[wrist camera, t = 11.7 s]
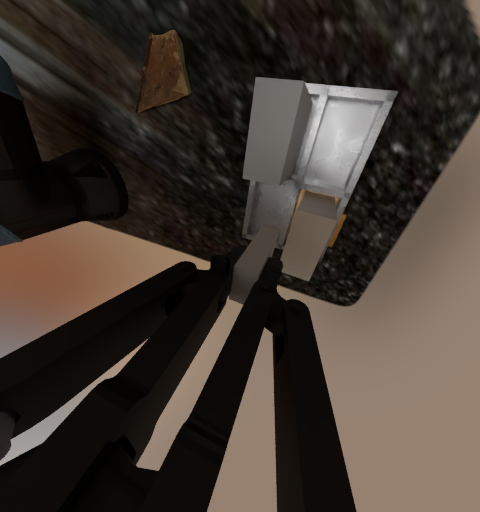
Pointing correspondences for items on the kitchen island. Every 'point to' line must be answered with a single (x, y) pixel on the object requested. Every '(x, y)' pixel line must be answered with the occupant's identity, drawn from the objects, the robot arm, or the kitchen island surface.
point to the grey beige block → (308, 234)
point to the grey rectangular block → (276, 129)
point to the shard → (163, 72)
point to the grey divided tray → (322, 158)
